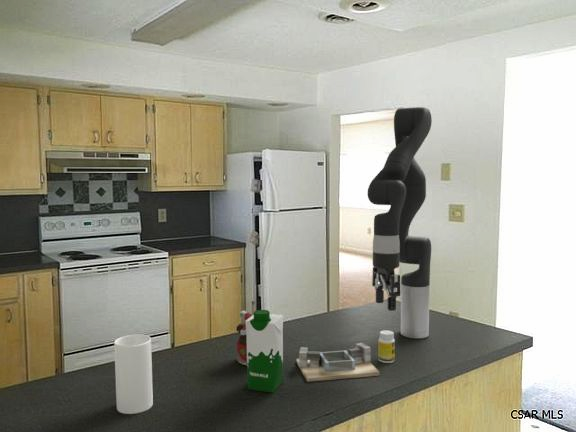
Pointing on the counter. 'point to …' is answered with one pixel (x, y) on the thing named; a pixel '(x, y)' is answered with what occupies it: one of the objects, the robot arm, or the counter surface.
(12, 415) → the counter surface
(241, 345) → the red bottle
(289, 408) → the counter surface
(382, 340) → the supplement bottle
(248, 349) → the milk carton
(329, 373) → the shaft bench
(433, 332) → the counter surface
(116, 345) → the cup
